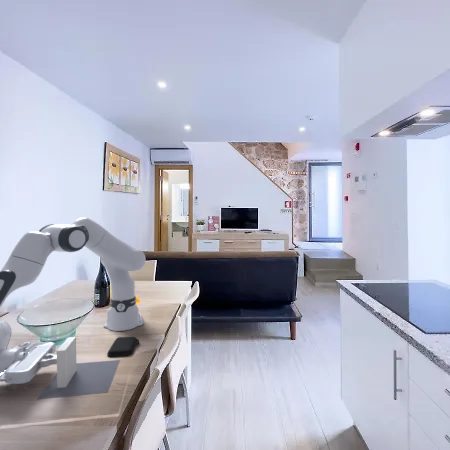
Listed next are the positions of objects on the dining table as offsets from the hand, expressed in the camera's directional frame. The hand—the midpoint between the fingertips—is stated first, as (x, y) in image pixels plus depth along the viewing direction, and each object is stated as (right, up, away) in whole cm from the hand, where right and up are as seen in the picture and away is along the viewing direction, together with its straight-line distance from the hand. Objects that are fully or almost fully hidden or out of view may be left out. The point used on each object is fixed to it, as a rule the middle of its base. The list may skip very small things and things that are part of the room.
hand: (58, 359), depth 97 cm
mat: (+7, -7, +1) cm, 11 cm away
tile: (+3, -7, +1) cm, 7 cm away
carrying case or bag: (+14, -7, +23) cm, 28 cm away
